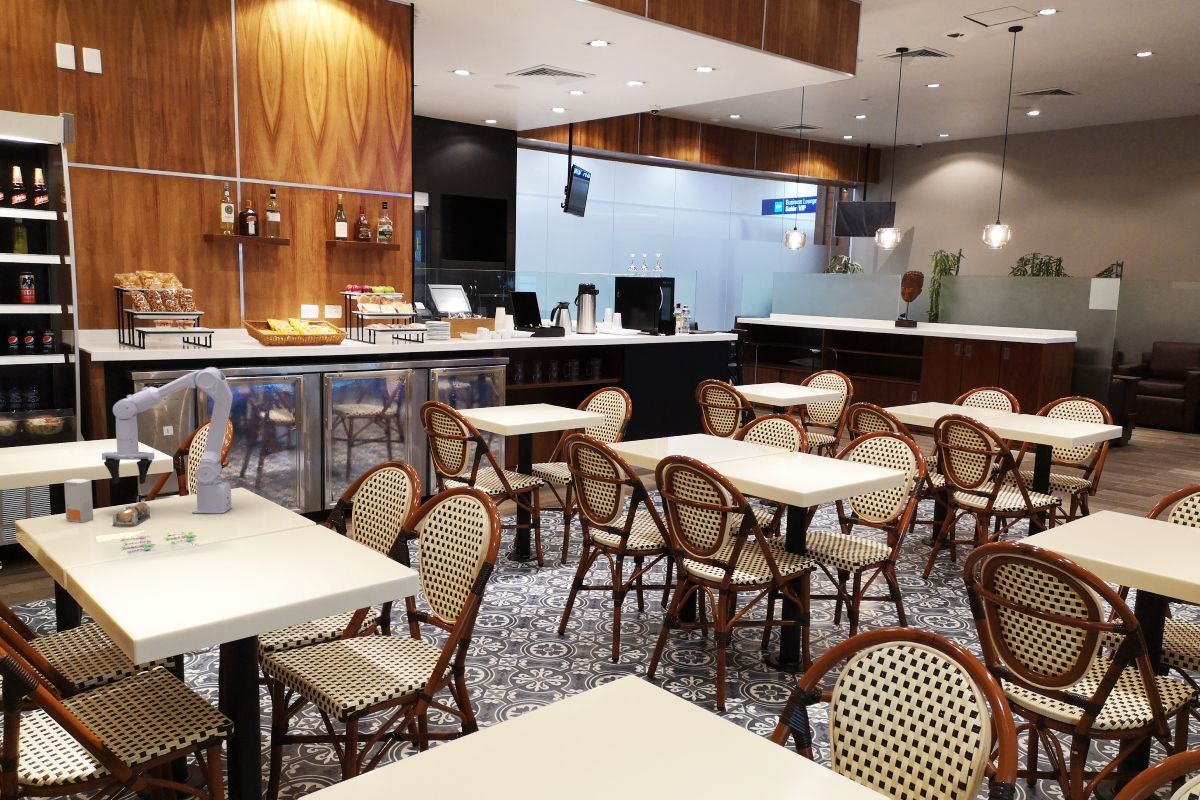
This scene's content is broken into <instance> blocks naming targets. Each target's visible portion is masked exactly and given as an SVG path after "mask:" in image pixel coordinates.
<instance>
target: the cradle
mask: <svg viewBox="0 0 1200 800" xmlns="http://www.w3.org/2000/svg"><path fill="white" fill-rule="evenodd" d="M131 507H133V506H132V505H127V506H125V510H127V509H129V508H131ZM150 511H151V510H150V505H147V506H145V507H144V513H143V514H141V515H139V516H137V513H132V514H131V520H130V521H129V522H127V523H121V522H120V521H119V520H118V515H119V514H120V513H119V512H113V513H112V527H137V526H138V525H140V524H141V523H143V522H145V521H147V520H148V519H150V518H151V515H150V514H151V512H150ZM146 519H147V520H146Z"/></svg>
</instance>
